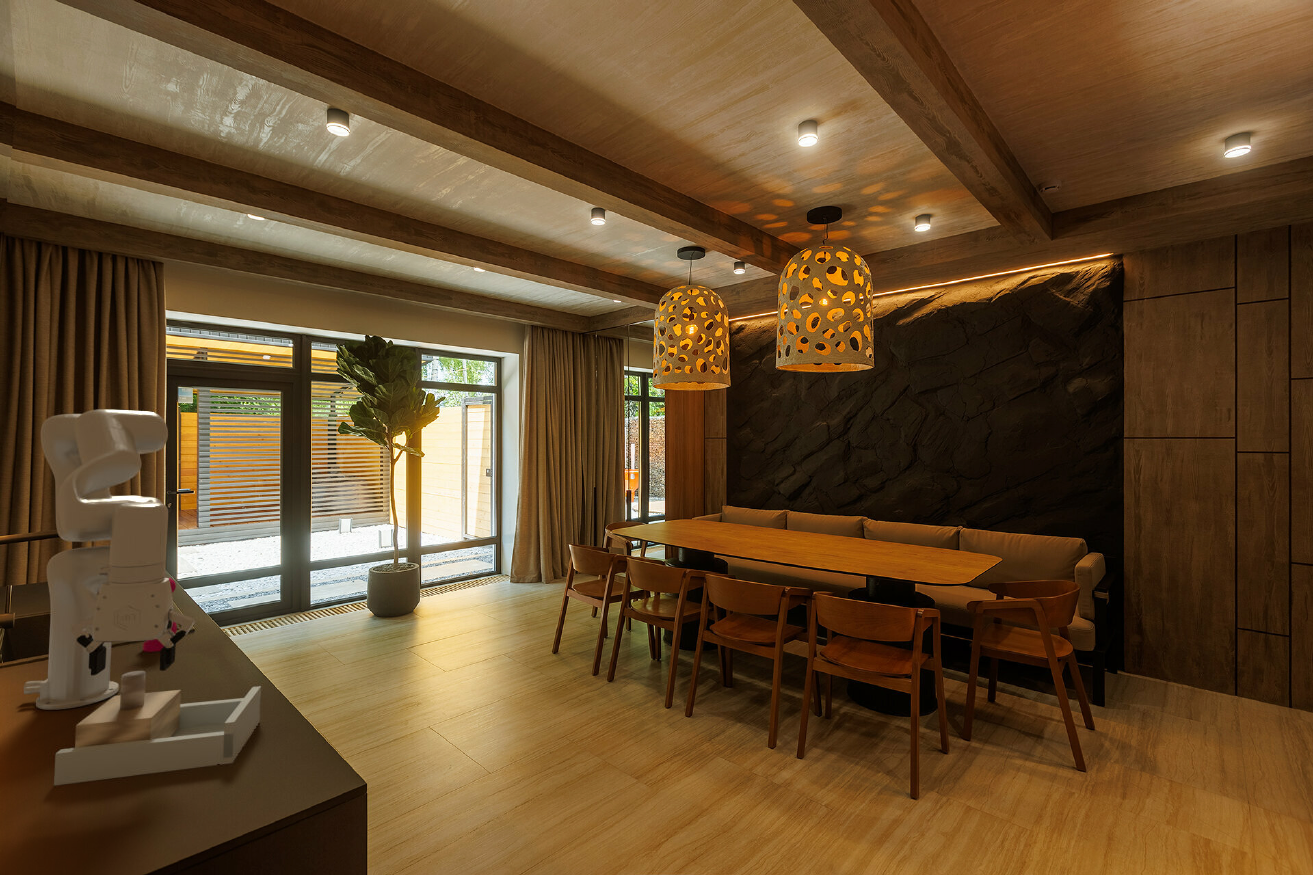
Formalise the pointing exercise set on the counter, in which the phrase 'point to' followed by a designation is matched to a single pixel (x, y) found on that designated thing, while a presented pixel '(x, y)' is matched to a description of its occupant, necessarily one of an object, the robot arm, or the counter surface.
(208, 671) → the counter surface
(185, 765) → the bay
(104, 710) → the wooden block with knob
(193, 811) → the counter surface
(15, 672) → the counter surface
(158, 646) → the pepper mill
